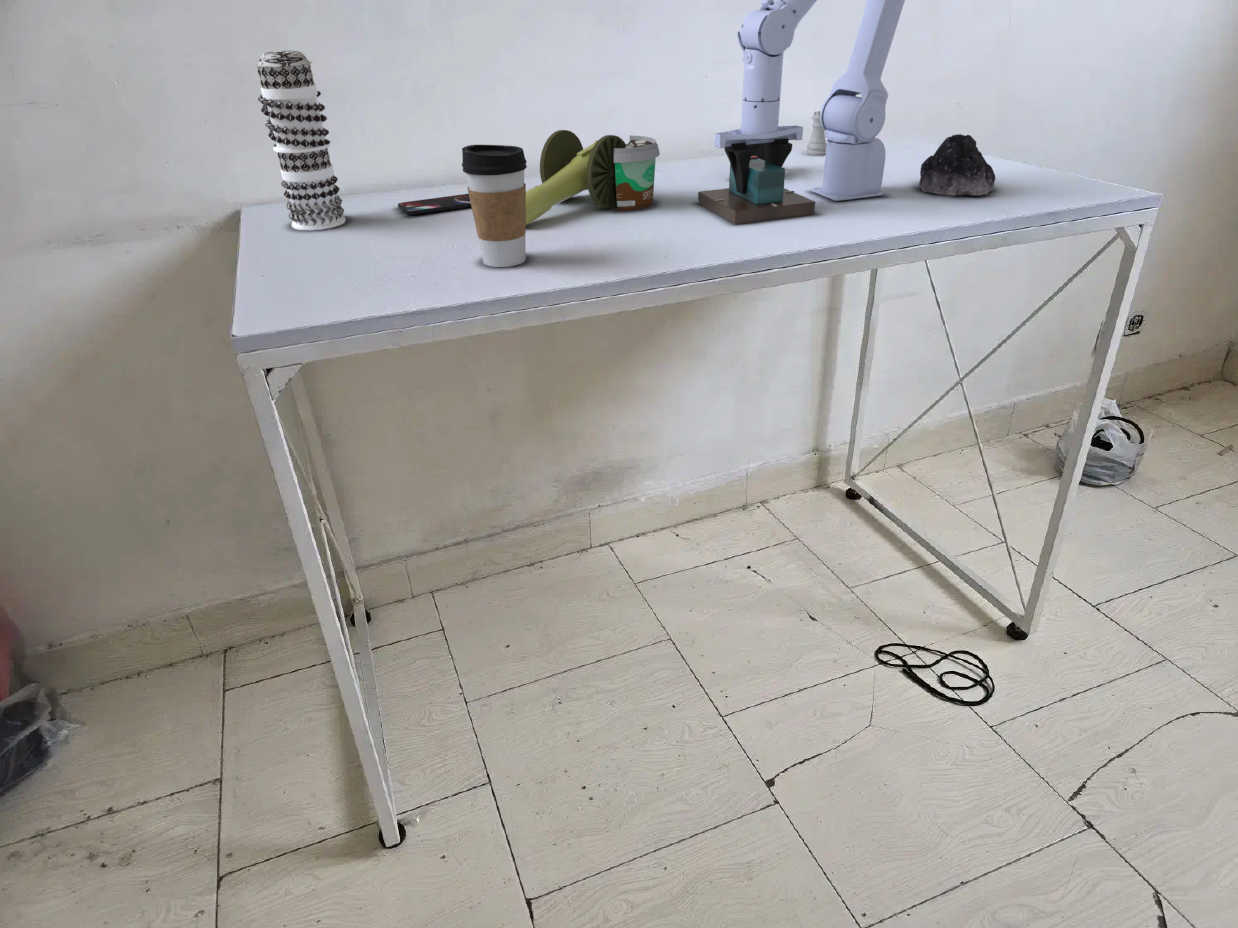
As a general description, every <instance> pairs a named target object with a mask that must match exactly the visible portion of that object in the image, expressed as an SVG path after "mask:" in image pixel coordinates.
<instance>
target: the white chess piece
mask: <svg viewBox="0 0 1238 928" xmlns="http://www.w3.org/2000/svg"><path fill="white" fill-rule="evenodd" d="M820 112H821V110H818V111H814V112H813V115H812V116H811V119H812V120H813V123H812V124H811V126H812V132H811V135H810V139H809V141H808V143H807V144H806V148H807V149H806V150H805V153H806V154H807V155H809V156H823V155H825V156H826V146H827V139H826V137H825V133H826V131H825V130H824V129H823V127H822V125H821V122H820Z"/></svg>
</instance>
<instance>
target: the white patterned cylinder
mask: <svg viewBox="0 0 1238 928" xmlns="http://www.w3.org/2000/svg"><path fill="white" fill-rule="evenodd" d="M311 64H313V61H310V60H309V59H308V58H307V57H306V56H305V54H304V53H303V52H302V51H299V50H277V51H275V50H274V51H267V52H264V53H262V54H261V55H260V57H259V61H258V63H257V64H255V65H254V66H255V67H256V71H257V74H258V78H259V82H260V93H261V94H260V95H259V96H258V98H257V100H258V102H259V103H261V104H262V107H261V109H260V112H261V113H263V115H264V116H267V117H268V118H267V119H266V122H265V123H264V125H265V127H266V128H268V130H269V133H268V134H267V135H268V137H269V138H270V140H271V141H274V142H275V143H274V144H273V147H272V150H273V151H274V152H275V153H277V158H278V161H279V166H280V171H279V172H280V175H281V180H282V182H281V183H280V186H281V187H283V188H284V189H286V190H285V191H284V192H283V196H284V197H285V198H286V199H288V201H287V202H286V205H285V206H286V207H285V208H286V209H287V210H288V211H289V212H288V218H289V219H290V220H291V221H292V222H291V227H292V229H294V230H299V231H320V230H326V229H332V228H336V227H339V226H342V225H343V224H345V223H346V217H345V216H344V213H345V209H344V207H342V203H343V198H341V196H340V195H338V193H339V192H340V190H341V189H340V187H339V186H338V185H336V183H337V182H338V181H339V180H338V177H337V176H336V175H335V170H334V165H333V164H332V162H331V158H330V153H329V148H330V146H331V141H330V140H329V139H327V136H328V135H329V134H330V131H329V129H327V128H325V127H324V126H323V124H324V123H325V122H326V121H327V120H328V117H327V116H326V115H324V114H323V111H324V110H325V109H326V106H325V104H322V103H321V102H320V101H319V102H318V99H319V97H320V96H321V95H322V93H321V91H320V90H318V88H317V84H316V83H315V81H314V74H313V71H312V66H311Z"/></svg>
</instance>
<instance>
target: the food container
mask: <svg viewBox="0 0 1238 928" xmlns="http://www.w3.org/2000/svg"><path fill="white" fill-rule="evenodd" d="M659 156H660V149H659V144H658V143H657V140H656V139H655V138H653V137H649V136H644V135H629V141H628V142H627V143H625V144H624V145H623V146H622V148H614V163H615V176H616V195H617V206H616V211H617V212H632V211H639V210H644V209H648V208H650V207H652V206H653V204H654V191H655V190H654V189H655V174H656V159H657V158H658V157H659Z"/></svg>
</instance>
